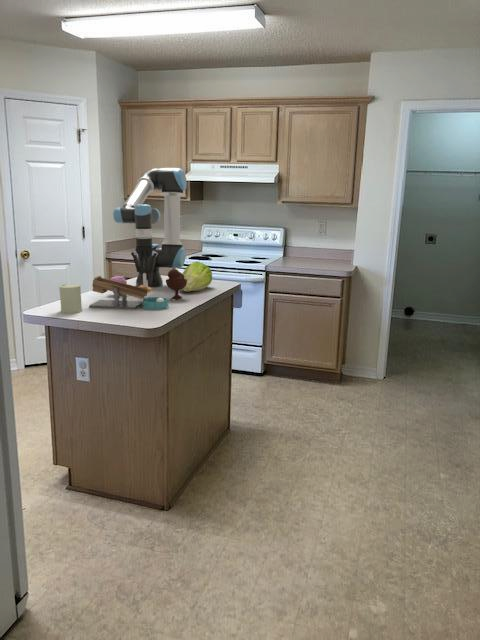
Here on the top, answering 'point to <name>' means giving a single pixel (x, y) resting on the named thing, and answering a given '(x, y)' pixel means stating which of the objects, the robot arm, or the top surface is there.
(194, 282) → the lettuce
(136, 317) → the top surface
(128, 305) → the chute stand
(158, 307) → the teal bowl
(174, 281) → the ice cream bowl
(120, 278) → the cupcake
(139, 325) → the top surface
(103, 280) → the chute
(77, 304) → the can
